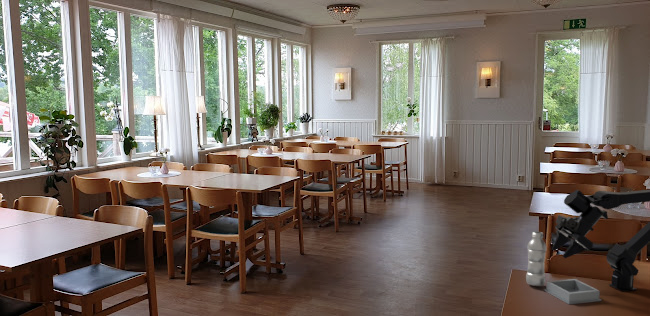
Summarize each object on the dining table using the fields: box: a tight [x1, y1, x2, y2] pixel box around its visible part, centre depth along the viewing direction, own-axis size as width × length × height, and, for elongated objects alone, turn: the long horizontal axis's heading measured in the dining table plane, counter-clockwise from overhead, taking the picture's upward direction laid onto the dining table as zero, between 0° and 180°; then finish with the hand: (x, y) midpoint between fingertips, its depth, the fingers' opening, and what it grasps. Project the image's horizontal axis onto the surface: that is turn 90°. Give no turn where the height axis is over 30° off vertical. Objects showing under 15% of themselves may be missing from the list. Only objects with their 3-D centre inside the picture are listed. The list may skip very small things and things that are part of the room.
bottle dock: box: [543, 278, 602, 305], centre depth 177 cm, size 13×13×4 cm
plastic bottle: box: [525, 231, 547, 287], centre depth 186 cm, size 6×7×20 cm
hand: (558, 253), depth 183 cm, fingers open, 9 cm apart
